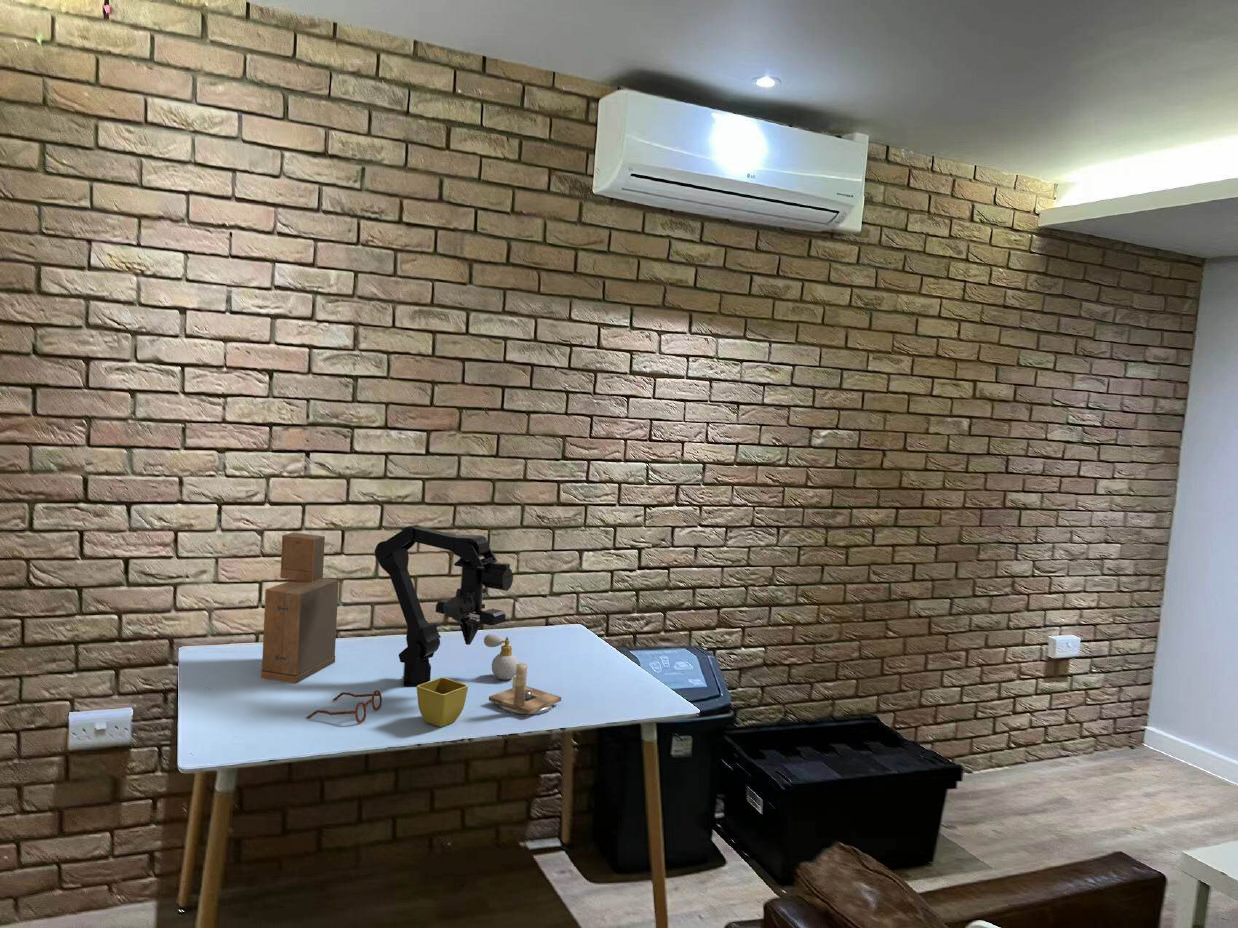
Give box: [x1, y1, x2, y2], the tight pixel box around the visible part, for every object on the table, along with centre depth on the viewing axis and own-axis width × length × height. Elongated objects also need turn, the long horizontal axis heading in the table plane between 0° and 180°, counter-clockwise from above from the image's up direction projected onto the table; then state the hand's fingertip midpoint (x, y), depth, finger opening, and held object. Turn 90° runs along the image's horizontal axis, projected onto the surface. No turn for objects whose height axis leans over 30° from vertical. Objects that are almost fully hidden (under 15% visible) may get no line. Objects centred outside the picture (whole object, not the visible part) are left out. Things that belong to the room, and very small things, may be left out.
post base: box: [496, 676, 554, 716], centre depth 226 cm, size 14×17×4 cm
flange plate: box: [488, 662, 562, 714], centre depth 224 cm, size 13×13×11 cm
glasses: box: [305, 689, 383, 724], centre depth 211 cm, size 13×13×5 cm
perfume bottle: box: [483, 633, 520, 681], centre depth 243 cm, size 8×10×12 cm
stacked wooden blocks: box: [260, 532, 340, 684], centre depth 237 cm, size 19×14×35 cm
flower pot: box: [416, 676, 469, 728], centre depth 209 cm, size 9×9×9 cm
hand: (468, 644), depth 229 cm, fingers closed
